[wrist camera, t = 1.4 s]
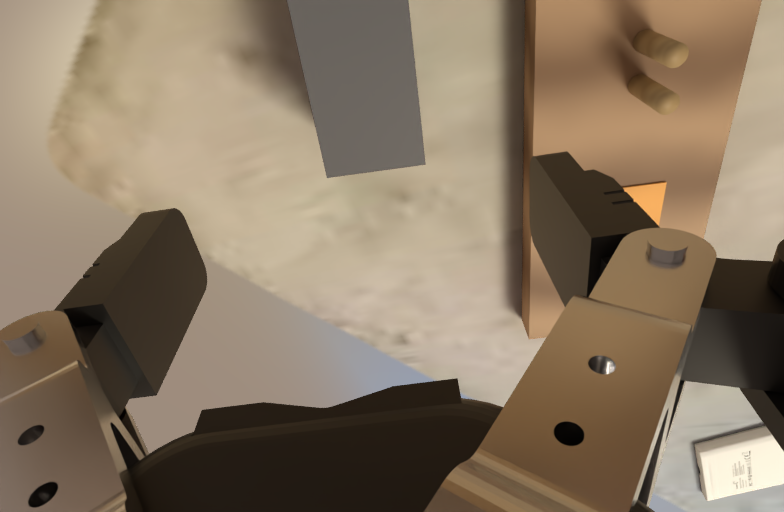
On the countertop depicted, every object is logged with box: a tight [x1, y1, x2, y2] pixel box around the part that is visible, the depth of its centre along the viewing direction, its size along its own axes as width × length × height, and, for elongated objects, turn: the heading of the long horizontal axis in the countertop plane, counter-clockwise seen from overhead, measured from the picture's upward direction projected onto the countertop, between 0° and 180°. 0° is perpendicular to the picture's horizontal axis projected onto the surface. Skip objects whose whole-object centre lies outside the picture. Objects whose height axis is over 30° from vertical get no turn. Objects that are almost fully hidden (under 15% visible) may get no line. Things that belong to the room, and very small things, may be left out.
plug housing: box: [287, 0, 426, 178], centre depth 23 cm, size 9×5×5 cm, turn 8°
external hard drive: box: [694, 425, 784, 501], centre depth 44 cm, size 2×8×12 cm
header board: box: [522, 0, 762, 339], centre depth 27 cm, size 22×10×5 cm, turn 8°
